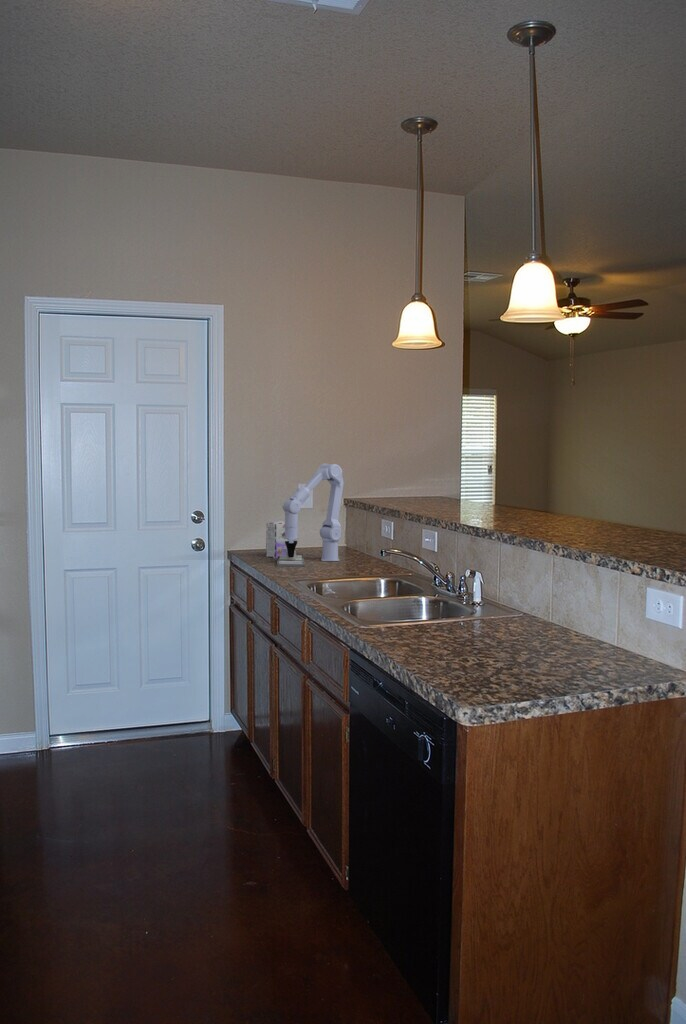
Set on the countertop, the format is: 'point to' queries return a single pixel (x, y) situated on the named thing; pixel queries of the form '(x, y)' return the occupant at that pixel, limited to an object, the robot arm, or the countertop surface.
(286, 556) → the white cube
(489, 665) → the countertop surface
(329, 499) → the robot arm
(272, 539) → the candy box
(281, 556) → the rail mat
